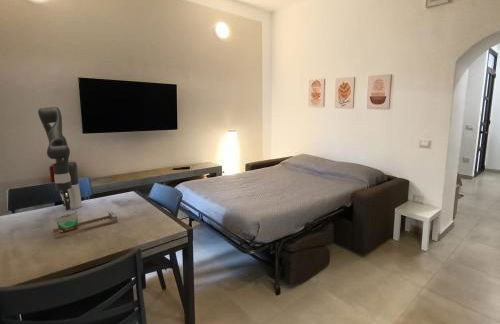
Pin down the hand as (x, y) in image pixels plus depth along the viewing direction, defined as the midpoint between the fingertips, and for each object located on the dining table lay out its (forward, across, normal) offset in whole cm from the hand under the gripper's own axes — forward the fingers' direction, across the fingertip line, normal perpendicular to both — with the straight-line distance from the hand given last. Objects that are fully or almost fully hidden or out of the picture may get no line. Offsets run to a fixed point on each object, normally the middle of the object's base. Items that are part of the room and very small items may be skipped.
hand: (66, 207), depth 163 cm
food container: (+15, 0, 0) cm, 15 cm away
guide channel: (+14, 0, +9) cm, 17 cm away
